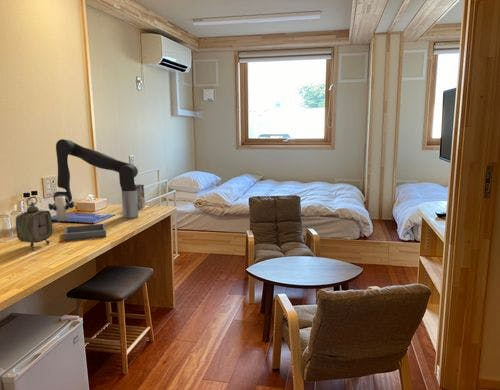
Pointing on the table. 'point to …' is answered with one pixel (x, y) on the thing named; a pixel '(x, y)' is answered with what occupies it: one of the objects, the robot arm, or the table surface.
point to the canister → (61, 208)
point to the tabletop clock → (34, 225)
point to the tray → (85, 232)
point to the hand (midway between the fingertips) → (60, 208)
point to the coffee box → (140, 197)
